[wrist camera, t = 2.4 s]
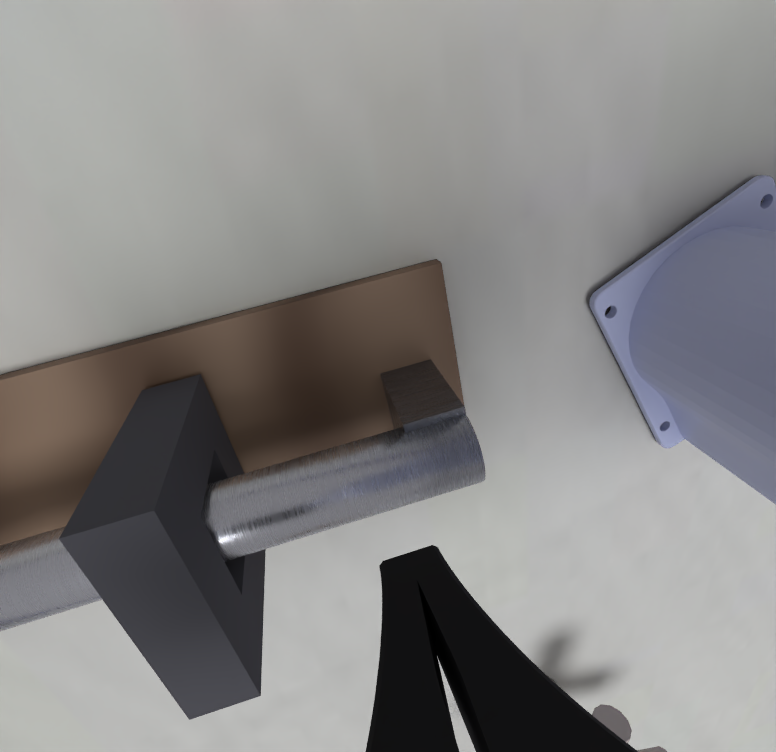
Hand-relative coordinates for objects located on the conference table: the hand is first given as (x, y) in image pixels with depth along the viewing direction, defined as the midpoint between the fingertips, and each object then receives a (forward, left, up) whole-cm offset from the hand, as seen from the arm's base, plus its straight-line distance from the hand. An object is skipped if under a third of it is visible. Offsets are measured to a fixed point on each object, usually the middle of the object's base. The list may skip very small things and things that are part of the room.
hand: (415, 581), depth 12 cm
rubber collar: (+2, +5, -9) cm, 11 cm away
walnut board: (+3, +7, -9) cm, 12 cm away
